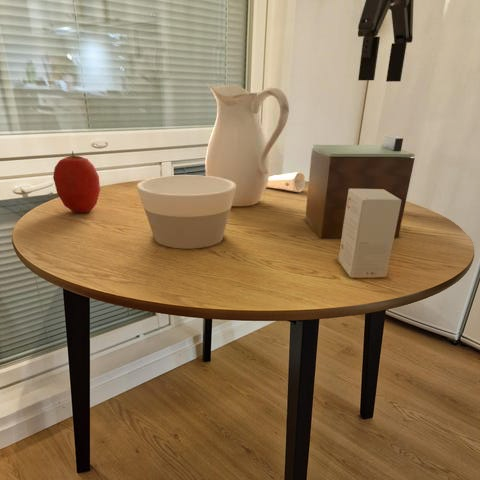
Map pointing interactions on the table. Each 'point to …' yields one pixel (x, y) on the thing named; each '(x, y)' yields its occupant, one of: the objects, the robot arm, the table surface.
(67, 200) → the apple
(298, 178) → the long cone
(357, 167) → the case
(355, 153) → the sliding box lid
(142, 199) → the bowl
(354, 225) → the small box
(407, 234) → the table surface
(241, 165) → the pitcher
